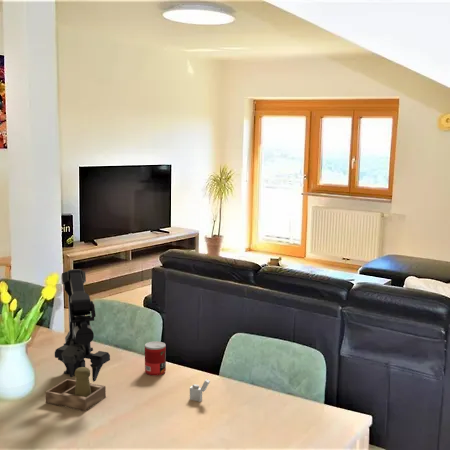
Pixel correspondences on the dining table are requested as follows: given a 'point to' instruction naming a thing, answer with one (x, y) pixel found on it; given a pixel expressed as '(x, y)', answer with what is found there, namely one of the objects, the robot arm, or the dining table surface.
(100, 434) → the dining table surface
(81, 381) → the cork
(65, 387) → the socket box
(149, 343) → the canned food
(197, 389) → the lighter
